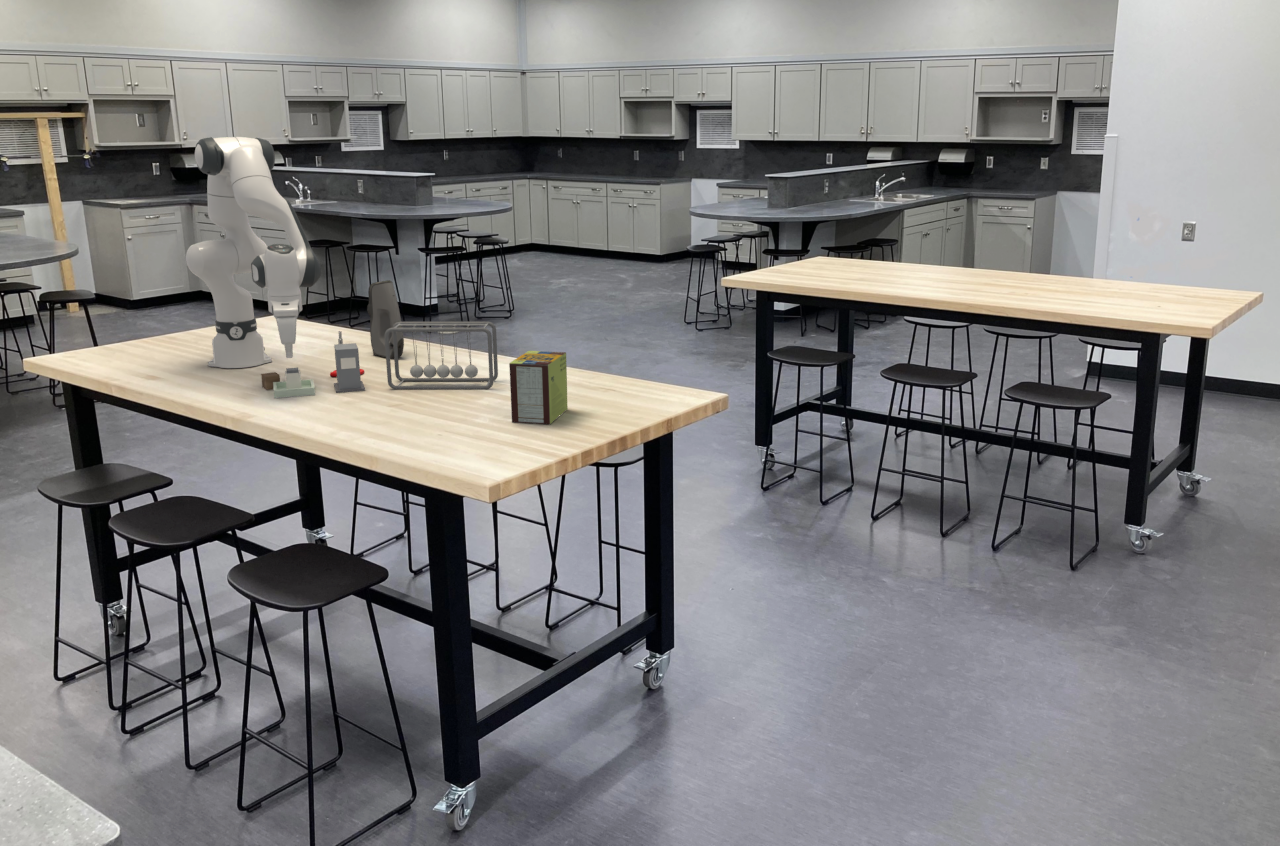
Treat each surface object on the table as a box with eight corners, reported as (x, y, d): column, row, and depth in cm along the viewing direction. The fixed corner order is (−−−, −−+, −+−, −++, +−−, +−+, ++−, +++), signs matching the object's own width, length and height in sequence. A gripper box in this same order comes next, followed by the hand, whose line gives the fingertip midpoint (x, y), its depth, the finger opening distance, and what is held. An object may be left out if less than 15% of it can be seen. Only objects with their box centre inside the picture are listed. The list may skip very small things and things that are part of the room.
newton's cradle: (498, 381, 308) (496, 321, 303) (493, 389, 298) (490, 327, 293) (396, 381, 308) (392, 321, 304) (387, 390, 298) (383, 328, 293)
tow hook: (341, 371, 323) (326, 377, 313) (338, 326, 320) (324, 331, 310) (369, 372, 321) (355, 378, 312) (367, 327, 318) (353, 332, 309)
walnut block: (262, 387, 302) (261, 373, 301) (276, 385, 304) (275, 372, 303) (266, 390, 298) (265, 376, 297) (280, 388, 301) (279, 374, 300)
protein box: (568, 409, 277) (566, 351, 273) (550, 425, 262) (548, 364, 258) (530, 407, 279) (528, 350, 275) (510, 422, 265) (508, 362, 260)
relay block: (286, 388, 297) (284, 368, 295) (301, 387, 298) (299, 367, 296) (286, 392, 293) (284, 371, 292) (301, 391, 294) (300, 370, 293)
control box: (333, 385, 304) (330, 344, 301) (362, 382, 306) (359, 342, 303) (336, 392, 295) (332, 350, 291) (365, 390, 297) (362, 348, 294)
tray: (273, 389, 299) (273, 382, 298) (313, 386, 302) (312, 379, 302) (274, 398, 289) (273, 390, 289) (315, 394, 293) (314, 387, 292)
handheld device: (385, 352, 348) (380, 276, 341) (412, 358, 338) (407, 281, 331) (369, 354, 344) (363, 278, 337) (395, 361, 334) (390, 283, 327)
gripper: (272, 298, 298) (276, 346, 302) (273, 311, 279) (277, 362, 283) (296, 297, 300) (299, 345, 304) (298, 310, 281) (302, 361, 285)
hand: (289, 353), depth 293 cm, fingers open, 8 cm apart
